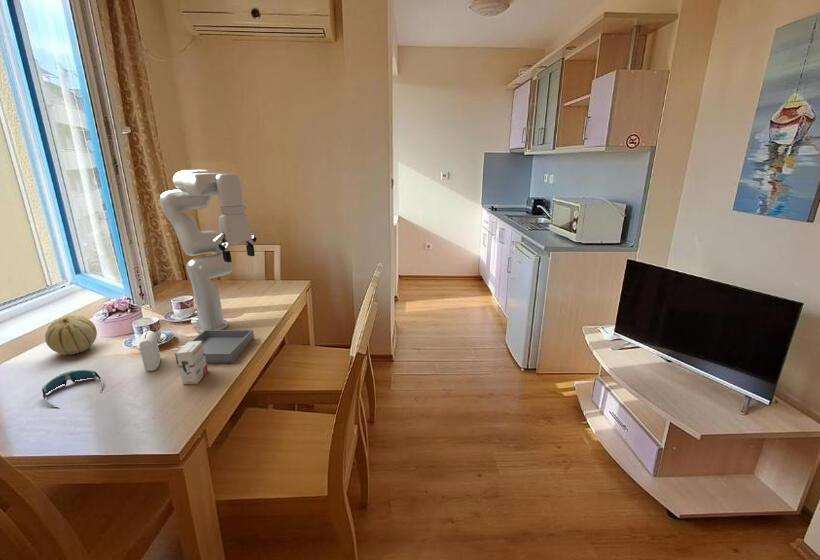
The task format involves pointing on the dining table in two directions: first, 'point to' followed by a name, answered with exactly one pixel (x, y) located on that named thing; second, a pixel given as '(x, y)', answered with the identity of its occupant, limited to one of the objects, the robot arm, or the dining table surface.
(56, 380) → the sunglasses
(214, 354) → the tray
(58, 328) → the cantaloupe
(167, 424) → the dining table surface
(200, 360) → the ink box
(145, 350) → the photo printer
